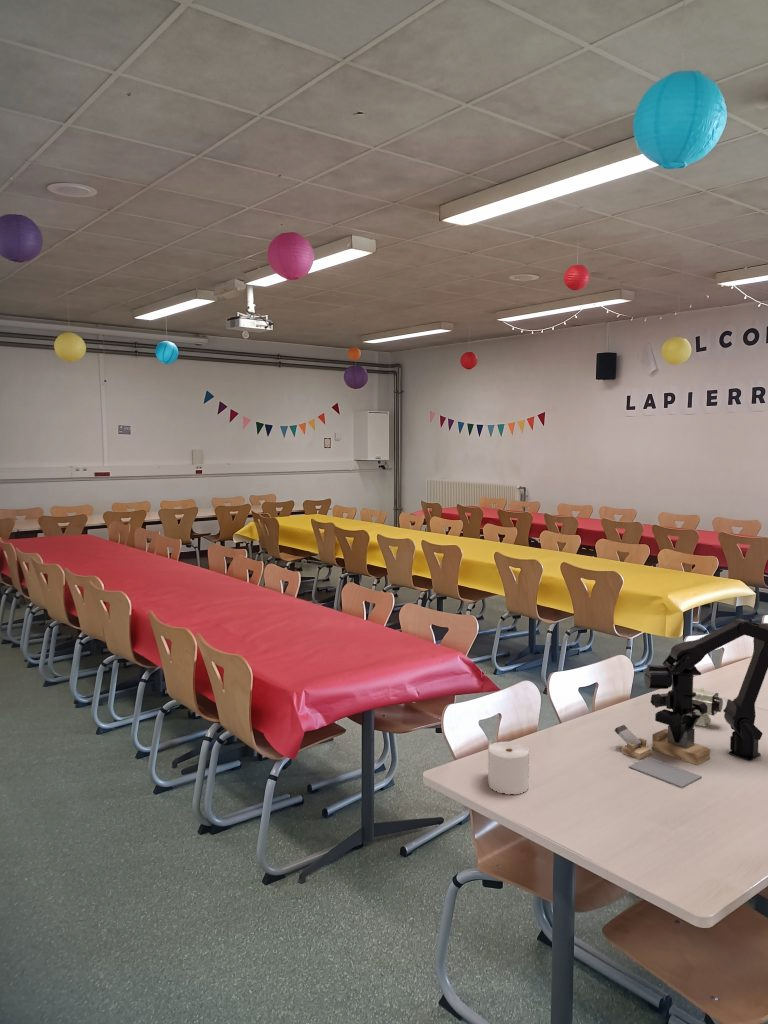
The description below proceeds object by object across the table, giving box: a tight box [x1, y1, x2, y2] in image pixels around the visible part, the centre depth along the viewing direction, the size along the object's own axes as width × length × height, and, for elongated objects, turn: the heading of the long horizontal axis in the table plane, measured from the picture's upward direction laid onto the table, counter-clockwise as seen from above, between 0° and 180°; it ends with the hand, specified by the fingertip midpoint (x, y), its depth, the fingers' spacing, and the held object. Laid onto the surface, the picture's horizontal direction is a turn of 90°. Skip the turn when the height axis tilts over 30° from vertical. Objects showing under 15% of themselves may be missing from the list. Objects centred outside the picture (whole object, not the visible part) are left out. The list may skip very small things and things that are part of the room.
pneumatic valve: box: [693, 687, 724, 728], centre depth 233 cm, size 6×12×12 cm, turn 51°
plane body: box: [651, 728, 711, 766], centre depth 211 cm, size 14×7×5 cm, turn 38°
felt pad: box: [628, 756, 703, 789], centre depth 199 cm, size 16×10×1 cm, turn 38°
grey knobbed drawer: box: [667, 725, 695, 749], centre depth 211 cm, size 6×4×6 cm, turn 38°
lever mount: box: [621, 737, 653, 761], centre depth 211 cm, size 6×7×4 cm
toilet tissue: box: [487, 738, 530, 795], centre depth 192 cm, size 11×12×10 cm
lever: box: [614, 724, 642, 748], centre depth 213 cm, size 1×4×8 cm
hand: (680, 740), depth 211 cm, fingers closed on grey knobbed drawer, 4 cm apart
